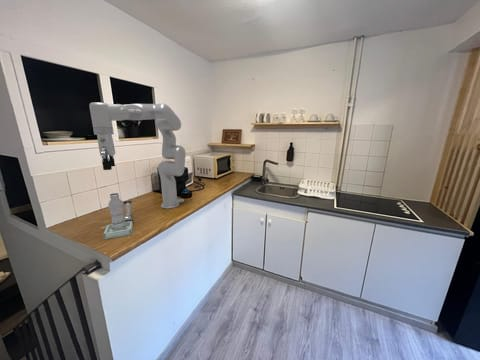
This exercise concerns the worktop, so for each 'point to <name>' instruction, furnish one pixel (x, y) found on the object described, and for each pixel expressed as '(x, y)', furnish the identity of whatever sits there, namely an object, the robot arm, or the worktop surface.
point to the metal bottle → (117, 212)
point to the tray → (111, 234)
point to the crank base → (127, 221)
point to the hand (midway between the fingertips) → (109, 167)
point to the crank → (128, 209)
